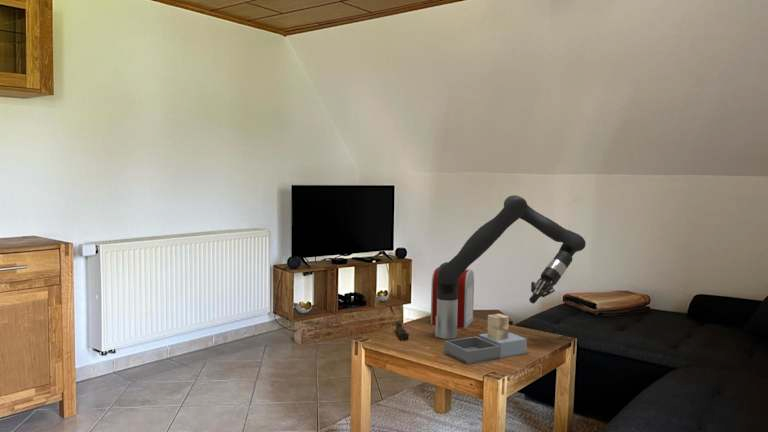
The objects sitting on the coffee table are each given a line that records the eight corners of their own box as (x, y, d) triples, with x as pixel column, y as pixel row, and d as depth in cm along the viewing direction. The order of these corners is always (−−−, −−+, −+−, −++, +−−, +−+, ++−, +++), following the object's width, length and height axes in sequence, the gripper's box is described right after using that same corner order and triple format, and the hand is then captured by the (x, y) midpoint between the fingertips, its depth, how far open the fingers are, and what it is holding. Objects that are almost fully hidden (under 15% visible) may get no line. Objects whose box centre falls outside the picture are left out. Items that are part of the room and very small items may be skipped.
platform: (504, 344, 260) (504, 330, 259) (526, 353, 248) (526, 338, 247) (478, 348, 253) (478, 334, 253) (499, 357, 241) (500, 343, 240)
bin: (475, 348, 254) (476, 336, 253) (500, 358, 240) (500, 346, 239) (444, 353, 246) (444, 341, 246) (467, 364, 232) (468, 351, 232)
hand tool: (408, 341, 263) (409, 331, 262) (399, 341, 262) (399, 331, 262) (403, 330, 282) (403, 320, 281) (394, 330, 281) (394, 320, 281)
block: (498, 334, 253) (499, 313, 252) (508, 338, 248) (508, 316, 247) (487, 336, 250) (487, 315, 249) (496, 340, 245) (497, 318, 244)
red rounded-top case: (439, 316, 307) (440, 264, 305) (473, 320, 301) (474, 267, 299) (430, 324, 292) (431, 269, 290) (465, 328, 286) (467, 272, 284)
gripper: (538, 264, 266) (516, 293, 261) (560, 268, 254) (537, 299, 249) (547, 275, 269) (525, 304, 264) (569, 280, 257) (546, 311, 252)
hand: (531, 302), depth 256 cm, fingers closed
